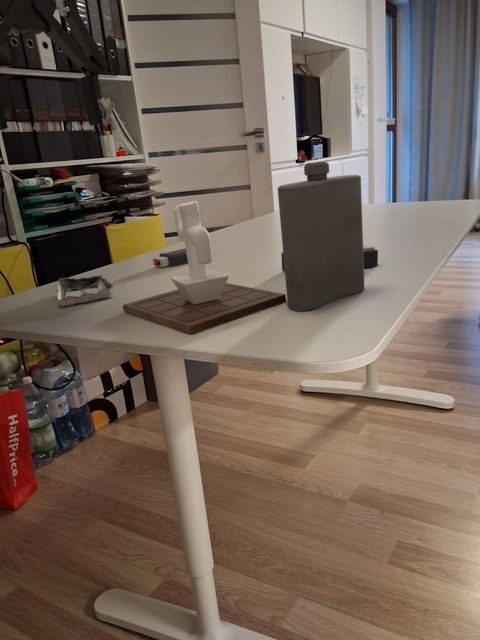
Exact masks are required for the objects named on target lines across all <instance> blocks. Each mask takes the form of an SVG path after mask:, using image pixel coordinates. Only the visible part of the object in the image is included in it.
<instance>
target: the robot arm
mask: <svg viewBox="0 0 480 640" xmlns="http://www.w3.org/2000/svg"><path fill="white" fill-rule="evenodd" d="M56 10H57V11H58V12H59V15H60V16H61V17H62V18H64V20H65V23H66V25H67V26H68V28H69V30H70V31H71V33H72V35H73V36H74V38H75V40H76V41H74V40H73V39H72V37H71V36H70V35H69V34H68V33H67V32H66V31H65V29H64V27H63V24H61V22H60V21H59V20H58V19H57V18H56V17H55V16H54V15H55V12H56ZM11 30H12V31H14V32H15V34H25V33H30V34H33V35H40V34H42V33H43V34H45V36H46V37H47V38H49V39H51V40H52V41H53V42H54V43H55V44H56V46H57V47H58V48H59V49H60V50H61V51H62V52H63V53H64V55H66V57H67V58H69V60H70V61H71V62H72V63H73V64H74V65H75V66H76V67H77V68H78V70H79V71H80V72H81V73H82V74H83V75H84V76H82V77H80V78H79V79H80V85H81V90H82V94H83V99H84V100H83V101H84V105H85V109H86V115H87V121H88V125H89V126H96V125H101V124H102V119H101V112H100V108H99V102H98V101H100V100H102V91H101V86H100V80H99V75H100V74H101V73H103V72H105V71H107V70H109V69H110V68H109V67H110V66H109V65H110V64H109V63H108V61H107V59H106V57H105V56H104V54H103V53H102V51H101V49H100V47H99V46H98V44H97V43H96V40H95V39H94V37H93V35H92V34H91V32H90V30H89V28H88V27H87V24H85V22H84V20H83V18H82V16H81V15H80V13H79V9H78V5H77V2H76V0H0V48H2V45H3V44H4V42H5V40H6V38H7V37H8V34H9V33H10V31H11ZM77 43H78V44H77ZM8 128H9V126H8V123H7V120H6V115H5V111H4V106H3V103H2V99H1V98H0V131H4V130H6V129H8Z"/></svg>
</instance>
